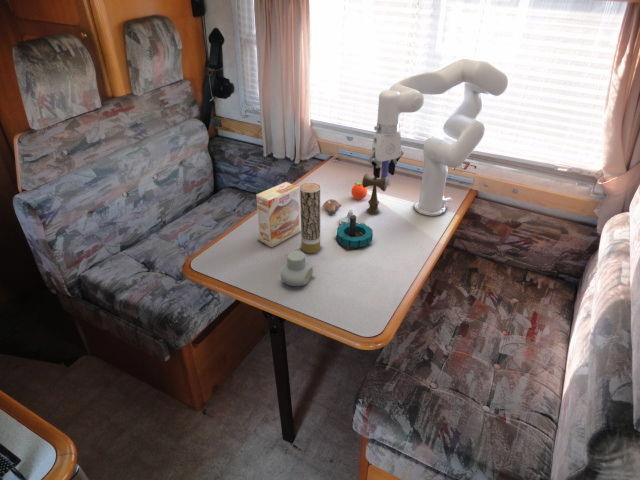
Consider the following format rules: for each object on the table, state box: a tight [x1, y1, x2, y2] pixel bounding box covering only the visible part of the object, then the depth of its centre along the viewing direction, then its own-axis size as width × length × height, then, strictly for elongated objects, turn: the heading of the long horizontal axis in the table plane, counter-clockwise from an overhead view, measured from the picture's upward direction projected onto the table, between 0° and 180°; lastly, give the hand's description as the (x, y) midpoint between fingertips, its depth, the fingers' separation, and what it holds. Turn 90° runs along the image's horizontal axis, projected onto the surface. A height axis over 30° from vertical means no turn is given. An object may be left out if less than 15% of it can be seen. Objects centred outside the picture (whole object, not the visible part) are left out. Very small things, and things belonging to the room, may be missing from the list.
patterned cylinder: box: [299, 182, 321, 254], centre depth 156 cm, size 7×7×25 cm
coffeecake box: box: [255, 181, 300, 248], centre depth 164 cm, size 15×7×20 cm, turn 137°
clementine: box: [350, 182, 368, 200], centre depth 195 cm, size 8×7×7 cm
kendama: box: [361, 173, 389, 215], centre depth 180 cm, size 6×10×20 cm, turn 69°
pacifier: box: [338, 209, 358, 226], centre depth 177 cm, size 7×6×6 cm
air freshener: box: [279, 250, 314, 287], centre depth 144 cm, size 11×8×10 cm
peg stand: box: [335, 214, 369, 251], centre depth 164 cm, size 9×9×10 cm
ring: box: [336, 222, 374, 248], centre depth 166 cm, size 13×13×3 cm
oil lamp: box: [322, 198, 342, 216], centre depth 186 cm, size 9×4×8 cm
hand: (383, 174), depth 166 cm, fingers open, 5 cm apart
